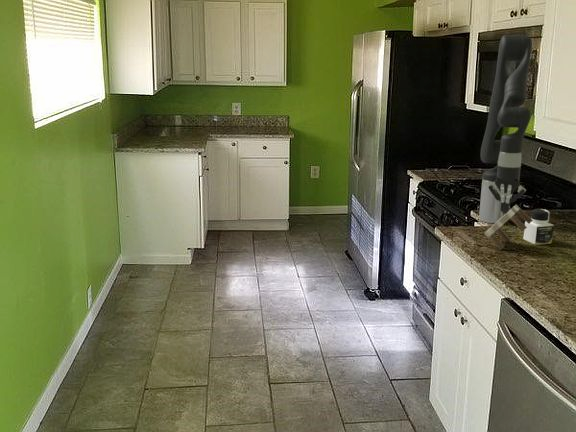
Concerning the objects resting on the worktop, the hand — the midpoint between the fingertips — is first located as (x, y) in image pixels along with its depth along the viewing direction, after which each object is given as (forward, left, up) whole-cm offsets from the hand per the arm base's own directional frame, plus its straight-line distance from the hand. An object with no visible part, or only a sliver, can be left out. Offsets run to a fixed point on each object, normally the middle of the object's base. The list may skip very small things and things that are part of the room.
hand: (504, 212), depth 217 cm
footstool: (0, -2, -10) cm, 10 cm away
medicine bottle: (-12, +10, -12) cm, 20 cm away
